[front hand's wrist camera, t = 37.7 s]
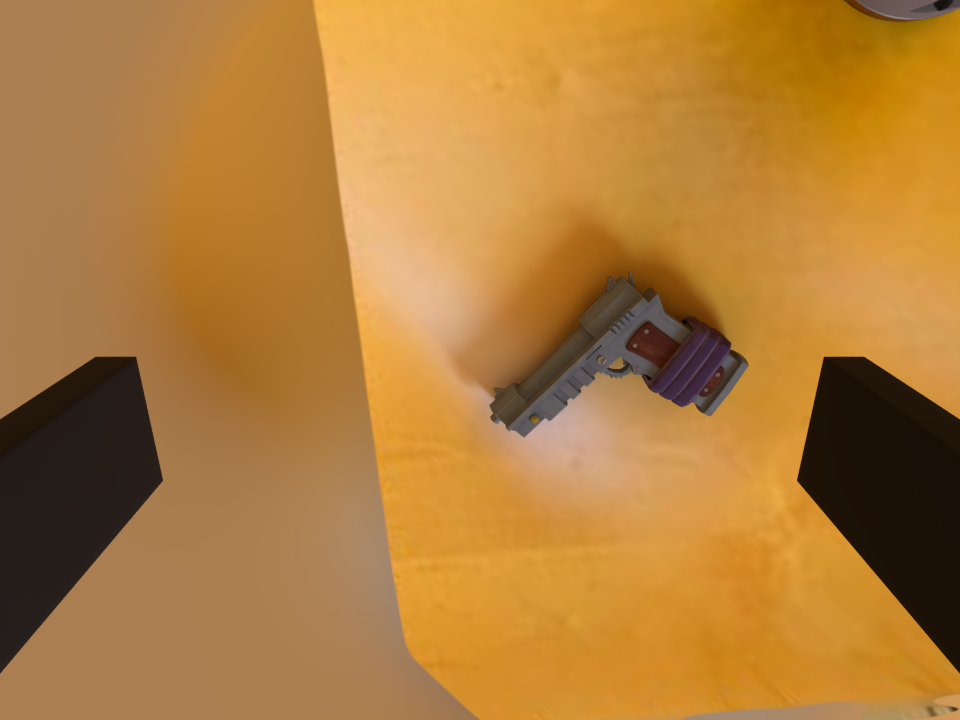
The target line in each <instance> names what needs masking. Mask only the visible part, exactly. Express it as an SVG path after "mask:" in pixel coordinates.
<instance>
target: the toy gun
mask: <svg viewBox="0 0 960 720" xmlns="http://www.w3.org/2000/svg"><path fill="white" fill-rule="evenodd" d="M607 280H608V283H607V285H606V286H605V287H606V289H607V290H606V291H605V292H604V293H603V294H602V295H601V296H600V297H599V298H598V299H597V300H596V301H595V302H594V303H593V304H592V305H591V306H590V307H589V308H588V309H587V310H586V311H585V312H584V313H583V314H582V315H581V316H580V317H579V318H578V320H579V322H580V323H581V325H580V326H579V327H578V328H577V329H576V330H575V331H574V332H573V333H572V334H571V335H570V336H569V337H568V338H567V339H566V340H565V341H564V342H563V343H562V344H561V345H560V346H559V347H558V348H557V349H556V350H555V351H554V352H553V353H552V354H551V355H550V356H549V357H548V358H547V359H546V360H545V361H544V362H543V363H542V364H541V365H540V366H539V367H538V368H536V369H535V370H534V371H533V372H532V373H531V374H530V375H529V376H528V377H527V378H526V379H525V380H524V381H523V382H522V383H521V384H520V385H518V384H517V383H512V384H511V385H510V386H509V387H508V388H507V389H501V388H495V387H494V388H493V389H494V392H496V393H498V394H497V395H495V398H496V400H495V401H494V402H492V403H491V404H490V405H489V406H490V408H491V410H492V412H493V413H494V414H492V415H491V417H490V418H491V420H492V421H493V422H494V423H496V424H497V423H499V422H500V421H502V422H503V423H504V424H506V428H507V430H508V431H510V430H511V429H512V430H513V431H514V430H515V431H516V432H518V433H519V434H520V435H521V436H522V437H525V436H526V435H528V434H529V433H530V432H531V431H532V430H533V429H534V428H535V427H536V426H537V425H538V424H539V423H540V422H541V421H542V420H543V419H545V418H546V419H548V420H549V421H551V420H552V419H553V418H554V417H555V416H556V415H557V414H558V413H559V412H561V411H562V410H563V409H564V408H565V407H566V406H567V400H568V399H569V398H572V399H574V398H576V397H577V396H578V395H579V394H580V393H581V389H580V388H581V387H582V386H583V385H585V386H588V385H589V384H591V383H592V382H593V381H594V380H595V377H594V375H595V374H596V373H597V372H598V371H599V372H600V373H602V372H603V373H605V374H606V375H609V374H610V377H611V378H613V377H614V376H615V378H617V377H618V376H619V377H620V378H622V377H623V376H625V375H628V374H629V373H630V372H631V371H632V372H633V374H636V375H641V374H642V378H643V379H644V381H645V383H646V384H647V386H648V388H649V389H650V390H651V391H653V392H655V393H659V394H660V395H661V396H662V397H664V398H666V399H668V400H670V399H671V400H672V402H673V403H675V404H677V405H679V406H681V407H684V406H686V405H688V404H690V403H691V402H693V403H695V405H696V407H697V409H698V410H699V411H700V412H702V413H704V414H706V415H708V416H711V415H712V414H713V413H714V411H715V410H716V409H717V408H718V406H719V405H720V404H721V403H722V401H723V400H724V399H725V398H726V396H727V395H728V394H729V393H730V391H731V390H732V388H733V387H734V386H735V384H736V383H737V381H738V380H739V378H740V377H741V376H742V374H743V373H744V371H745V370H746V368H747V367H748V366H749V365H748V363H747V360H746V359H745V358H744V357H743V356H742V355H741V354H739V353H737V352H735V351H733V350H730V347H731V342H730V341H729V340H728V339H727V338H725V337H724V336H723V335H722V334H721V333H720V332H719V331H717V330H715V329H713V328H711V327H709V326H708V325H706V324H705V323H703V322H701V321H698V320H697V319H696V318H694V317H691V316H690V317H687V318H685V319H684V320H683V321H682V322H680V321H679V320H677V319H676V318H675V317H673V316H672V315H670V314H669V313H667V312H666V311H665V310H663V306H662V303H661V300H660V297H659V295H658V294H657V293H656V292H655V291H654V290H653V289H652V288H651V287H649V288H648V289H647V290H646V291H645V292H644V293H643V294H641V293H640V292H639V291H638V290H637V289H636V288H635V287H634V286H635V284H634V282H633V277H632V273H631V272H629V282H628V281H627V280H626V279H625V278H624V277H623V276H621V277H620V278H619V279H618V280H617V281H615V280H614V279H613V278H612V277H611V276H609V277H608V278H607ZM619 356H621V357H622V359H623V361H624V362H623V365H625V366H624V367H623V368H621V369H611V368H608V367H609V366H610V365H611V364H612V363H613V362H614V361H615V360H616V359H617V358H618V357H619Z"/></svg>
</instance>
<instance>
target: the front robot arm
mask: <svg viewBox="0 0 960 720" xmlns="http://www.w3.org/2000/svg"><path fill="white" fill-rule="evenodd" d="M845 1H846V2H847V3H848V4H849V5H851V6H852V7H854V8H855V9H857V10H858V11H860V12H862V13H864V14H866V15H868V16H871V17H874V18H877V19H881V20H886V21H896V22H902V21H914V20H921V19H926V18H931V17H935V16H939V15H943V14H946V13H949V12H952V11H954V10H956V9H958V8H960V0H845ZM162 481H163V478H162V474H161V469H160V465H159V460H158V456H157V451H156V446H155V442H154V437H153V432H152V428H151V423H150V419H149V414H148V410H147V405H146V400H145V396H144V391H143V387H142V382H141V377H140V373H139V368H138V364H137V359H136V357H95V358H93V359H92V360H90V361H89V362H87V363H86V364H84V365H83V366H81V367H79V368H78V369H76V370H75V371H74V372H72V373H70V374H69V375H67V376H66V377H64V378H63V379H61V380H60V381H58V382H57V383H55V384H54V385H52V386H50V387H49V388H47V389H46V390H44V391H43V392H41V393H40V394H38V395H37V396H35V397H34V398H32V399H31V400H29V401H28V402H26V403H25V404H23V405H21V406H20V407H18V408H17V409H15V410H14V411H12V412H11V413H9V414H8V415H6V416H5V417H3V418H2V419H0V673H1V672H2V671H3V669H4V668H5V667H6V666H7V665H8V664H9V662H10V661H11V660H12V659H13V658H14V656H15V655H16V654H17V653H18V652H19V651H20V649H21V648H22V647H23V646H24V645H25V643H26V642H27V641H28V640H29V639H30V637H31V636H32V635H33V634H34V633H35V632H36V630H37V629H38V628H39V627H40V626H41V624H42V623H43V622H44V621H45V620H46V619H47V617H48V616H49V615H50V614H51V613H52V611H53V610H54V609H55V608H56V607H57V605H58V604H59V603H60V602H61V601H62V600H63V598H64V597H65V596H66V595H67V594H68V592H69V591H70V590H71V589H72V588H73V587H74V585H75V584H76V583H77V582H78V581H79V579H80V578H81V577H82V576H83V575H84V574H85V572H86V571H87V570H88V569H89V568H90V566H91V565H92V564H93V563H94V562H95V561H96V559H97V558H98V557H99V556H100V555H101V553H102V552H103V551H104V550H105V549H106V547H107V546H108V545H109V544H110V543H111V542H112V540H113V539H114V538H115V537H116V536H117V534H118V533H119V532H120V531H121V530H122V529H123V527H124V526H125V525H126V524H127V523H128V521H129V520H130V519H131V518H132V517H133V515H134V514H135V513H136V512H137V511H138V510H139V508H140V507H141V506H142V505H143V504H144V502H145V501H146V500H147V499H148V498H149V497H150V495H151V494H152V493H153V492H154V491H155V489H156V488H157V487H158V486H159V485H160V484H161V482H162ZM797 481H798V482H799V484H800V485H801V486H802V487H803V488H804V489H805V491H806V492H807V493H808V494H809V495H810V497H811V498H812V499H813V500H814V501H815V502H816V504H817V505H818V506H819V507H820V508H821V510H822V511H823V512H824V513H825V514H826V516H827V517H828V518H829V519H830V520H831V521H832V523H833V524H834V525H835V526H836V527H837V529H838V530H839V531H840V532H841V533H842V534H843V536H844V537H845V538H846V539H847V540H848V542H849V543H850V544H851V545H852V546H853V547H854V549H855V550H856V551H857V552H858V553H859V555H860V556H861V557H862V558H863V559H864V561H865V562H866V563H867V564H868V565H869V566H870V568H871V569H872V570H873V571H874V572H875V574H876V575H877V576H878V577H879V578H880V579H881V581H882V582H883V583H884V584H885V585H886V587H887V588H888V589H889V590H890V591H891V592H892V594H893V595H894V596H895V597H896V598H897V600H898V601H899V602H900V603H901V604H902V606H903V607H904V608H905V609H906V610H907V611H908V613H909V614H910V615H911V616H912V617H913V619H914V620H915V621H916V622H917V623H918V624H919V626H920V627H921V628H922V629H923V630H924V632H925V633H926V634H927V635H928V636H929V637H930V639H931V640H932V641H933V642H934V643H935V645H936V646H937V647H938V648H939V649H940V651H941V652H942V653H943V654H944V655H945V656H946V658H947V659H948V660H949V661H950V662H951V664H952V665H953V666H954V667H955V668H956V669H957V671H958V672H959V673H960V419H958V418H957V417H955V416H954V415H952V414H951V413H949V412H948V411H946V410H945V409H943V408H942V407H940V406H939V405H937V404H935V403H934V402H932V401H931V400H929V399H928V398H926V397H925V396H923V395H922V394H920V393H919V392H917V391H916V390H914V389H913V388H911V387H910V386H908V385H906V384H905V383H903V382H902V381H900V380H899V379H897V378H896V377H894V376H893V375H891V374H890V373H888V372H887V371H885V370H884V369H882V368H881V367H879V366H877V365H876V364H874V363H873V362H871V361H870V360H868V359H867V358H865V357H824V359H823V364H822V368H821V373H820V377H819V382H818V387H817V391H816V396H815V400H814V405H813V410H812V414H811V419H810V423H809V428H808V432H807V437H806V442H805V446H804V451H803V455H802V460H801V465H800V469H799V474H798V478H797Z"/></svg>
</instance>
